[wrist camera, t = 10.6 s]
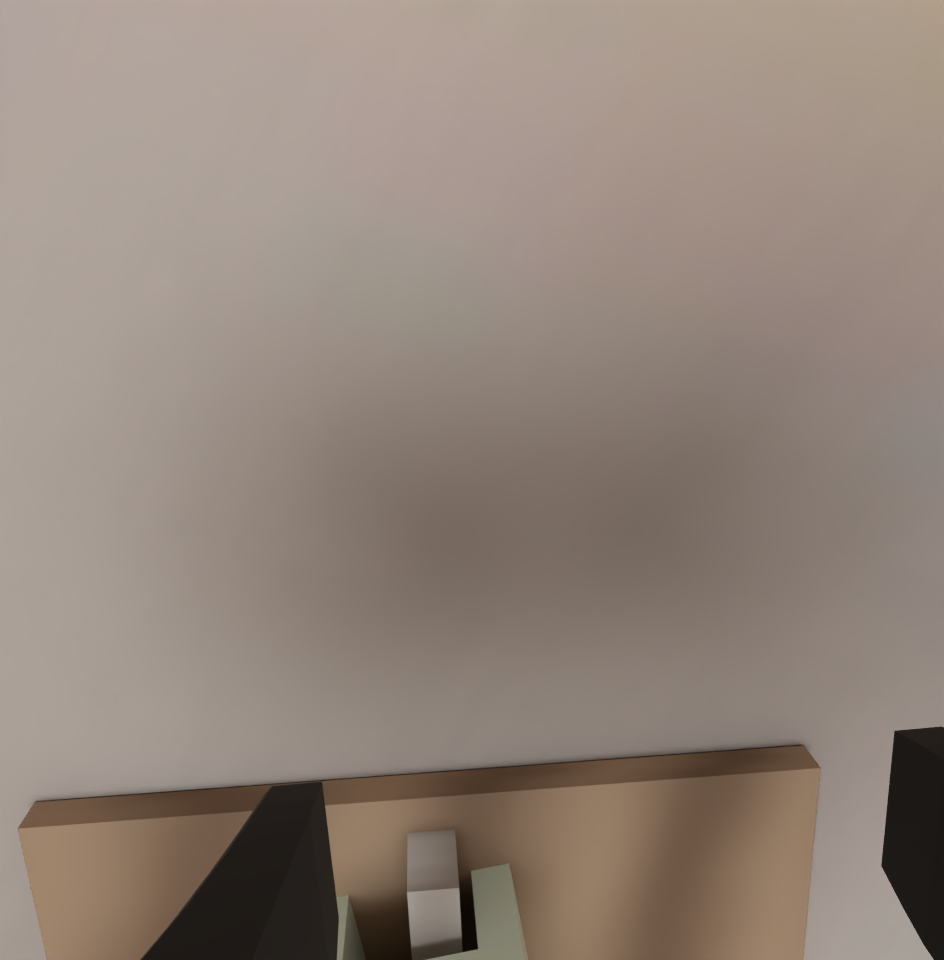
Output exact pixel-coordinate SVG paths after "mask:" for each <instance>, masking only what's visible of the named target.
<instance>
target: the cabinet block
mask: <svg viewBox="0 0 944 960" xmlns="http://www.w3.org/2000/svg"><path fill="white" fill-rule="evenodd" d="M471 876H472V887H473V898H474V909H475V920H476V931H477V942H478V949H477V950H472V951H467V952H462V953H456V954H451V955H446V956H441V957H436V958H431V959H426V960H528V956H527V951H526V946H525V941H524V936H523V930H522V925H521V920H520V915H519V910H518V905H517V900H516V895H515V890H514V885H513V880H512V875H511V870H510V865H509V863H508V864H503V865H498V866H493V867H488V868H483V869H478V870H473V871H471ZM336 898H337V906H338V915H339V926H338V946H337V960H366V958H365V954H364V950H363V946H362V943H361V939H360V935H359V932H358V928H357V924H356V920H355V917H354V913H353V909H352V906H351V902H350V898H349V895H345V896H340V897H336Z"/></svg>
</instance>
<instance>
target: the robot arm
mask: <svg viewBox="0 0 944 960" xmlns="http://www.w3.org/2000/svg"><path fill="white" fill-rule="evenodd" d="M882 868H883V870H884V872H885V874H886V875H887V877H888V879H889V881H890V883H891V885H892V887H893V889H894V891H895V893H896V895H897V897H898V899H899V901H900V903H901V904H902V906H903V908H904V910H905V912H906V914H907V916H908V917H909V919H910V921H911V923H912V924H913V926H914V928H915V930H916V932H917V933H918V935H919V937H920V939H921V941H922V942H923V944H924V946H925V947H926V949H927V950H928V952H929V953H930V955H931V956H932V957H933V959H934V960H944V727H933V728H922V729H911V730H899V731H895V733H894V743H893V753H892V763H891V774H890V784H889V794H888V804H887V815H886V825H885V835H884V845H883V855H882ZM338 926H339V915H338V906H337V898H336V890H335V882H334V874H333V866H332V858H331V850H330V842H329V834H328V825H327V817H326V809H325V801H324V793H323V785H322V782H313V783H301V784H290V785H279V786H272V787H271V788H270V789H269V790H268V791H267V792H266V793H265V794H264V796H263V797H262V799H261V800H260V802H259V803H258V805H257V806H256V807H255V809H254V810H253V812H252V813H251V815H250V816H249V818H248V819H247V821H246V822H245V824H244V825H243V827H242V828H241V829H240V831H239V832H238V834H237V835H236V837H235V838H234V839H233V841H232V842H231V844H230V845H229V846H228V848H227V849H226V851H225V852H224V853H223V855H222V856H221V858H220V859H219V860H218V862H217V863H216V865H215V866H214V867H213V869H212V870H211V871H210V873H209V874H208V875H207V877H206V878H205V879H204V881H203V882H202V883H201V885H200V886H199V887H198V888H197V890H196V891H195V892H194V894H193V895H192V896H191V898H190V899H189V900H188V902H187V903H186V904H185V906H184V907H183V908H182V910H181V911H180V912H179V913H178V915H177V916H176V917H175V918H174V920H173V921H172V922H171V924H170V925H169V926H168V927H167V928H166V930H165V931H164V932H163V933H162V934H161V936H160V937H159V938H158V939H157V940H156V942H155V943H154V944H153V945H152V946H151V947H150V949H149V950H148V951H147V952H146V953H145V955H144V956H143V957H142V958H141V959H140V960H337V946H338Z"/></svg>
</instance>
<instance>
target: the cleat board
mask: <svg viewBox="0 0 944 960" xmlns="http://www.w3.org/2000/svg"><path fill="white" fill-rule="evenodd" d="M820 769H821V768H820V767H819V765H818V764H817V763H816V761H815V760H814V759H813V757H812V756H811V755H810V753H809V752H808V751H807V749H806V748H805V747H804V745H802V746H789V747H775V748H762V749H748V750H735V751H721V752H708V753H694V754H680V755H667V756H653V757H640V758H626V759H613V760H599V761H586V762H572V763H559V764H545V765H532V766H518V767H505V768H491V769H478V770H464V771H450V772H437V773H423V774H410V775H396V776H383V777H369V778H356V779H342V780H329V781H315V782H322V785H323V793H324V801H325V809H326V817H327V825H328V834H329V842H330V850H331V858H332V866H333V874H334V882H335V890H336V897H340V896H345V895H349V898H350V902H351V906H352V909H353V913H354V917H355V920H356V924H357V928H358V932H359V935H360V939H361V943H362V946H363V950H364V954H365V958H366V960H426V959H431V958H436V957H441V956H446V955H451V954H456V953H462V952H467V951H472V950H477V949H478V942H477V931H476V920H475V909H474V898H473V887H472V876H471V871H473V870H478V869H483V868H488V867H493V866H498V865H503V864H508V863H509V865H510V870H511V875H512V880H513V885H514V890H515V895H516V900H517V905H518V910H519V915H520V920H521V925H522V930H523V936H524V941H525V946H526V951H527V956H528V960H803V957H804V946H805V935H806V924H807V913H808V902H809V891H810V880H811V869H812V858H813V847H814V836H815V825H816V814H817V803H818V792H819V780H820ZM302 783H313V782H302ZM290 784H301V783H288V784H275V785H261V786H248V787H234V788H220V789H207V790H193V791H180V792H166V793H153V794H139V795H126V796H112V797H99V798H85V799H72V800H58V801H45V802H35V803H34V805H33V806H32V808H31V809H30V811H29V812H28V814H27V815H26V817H25V818H24V820H23V821H22V823H21V824H20V826H19V827H18V832H19V837H20V841H21V846H22V850H23V855H24V859H25V864H26V868H27V873H28V877H29V881H30V886H31V890H32V895H33V899H34V904H35V908H36V913H37V917H38V921H39V926H40V930H41V935H42V939H43V944H44V948H45V953H46V957H47V960H140V959H141V958H142V957H143V956H144V955H145V953H146V952H147V951H148V950H149V949H150V947H151V946H152V945H153V944H154V943H155V942H156V940H157V939H158V938H159V937H160V936H161V934H162V933H163V932H164V931H165V930H166V928H167V927H168V926H169V925H170V924H171V922H172V921H173V920H174V918H175V917H176V916H177V915H178V913H179V912H180V911H181V910H182V908H183V907H184V906H185V904H186V903H187V902H188V900H189V899H190V898H191V896H192V895H193V894H194V892H195V891H196V890H197V888H198V887H199V886H200V885H201V883H202V882H203V881H204V879H205V878H206V877H207V875H208V874H209V873H210V871H211V870H212V869H213V867H214V866H215V865H216V863H217V862H218V860H219V859H220V858H221V856H222V855H223V853H224V852H225V851H226V849H227V848H228V846H229V845H230V844H231V842H232V841H233V839H234V838H235V837H236V835H237V834H238V832H239V831H240V829H241V828H242V827H243V825H244V824H245V822H246V821H247V819H248V818H249V816H250V815H251V813H252V812H253V810H254V809H255V807H256V806H257V805H258V803H259V802H260V800H261V799H262V797H263V796H264V794H265V793H266V792H267V791H268V790H269V789H270V788H271V787H272V786H279V785H290Z"/></svg>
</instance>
